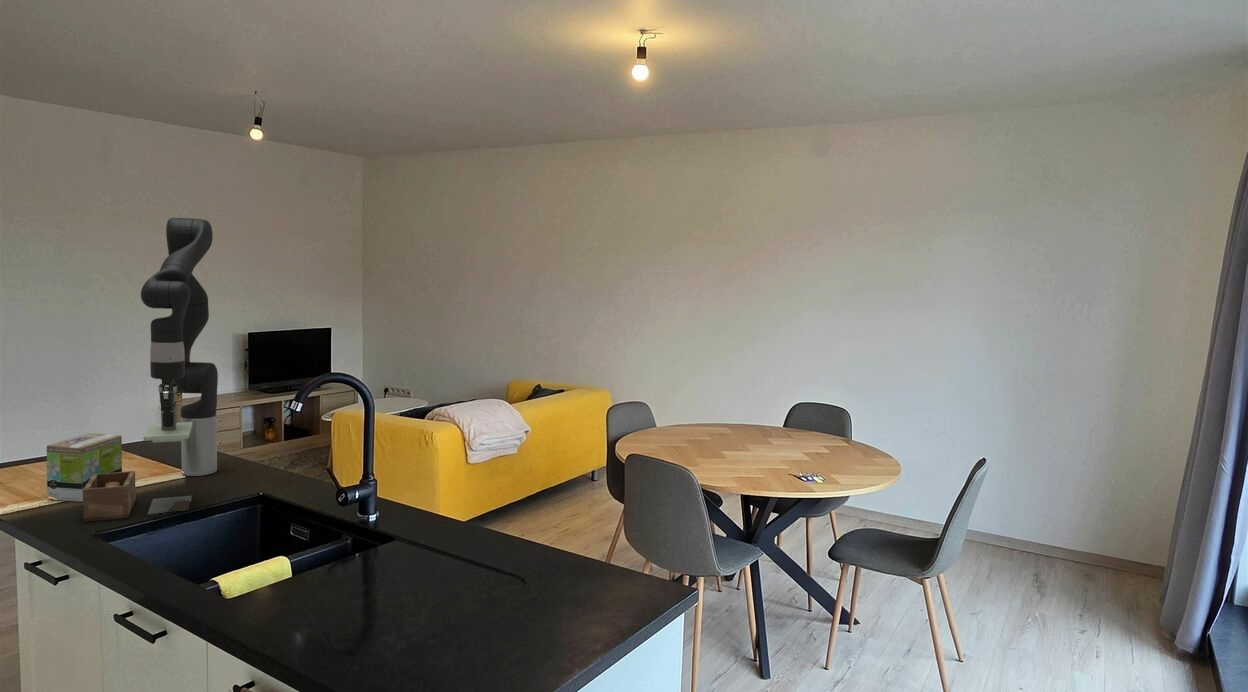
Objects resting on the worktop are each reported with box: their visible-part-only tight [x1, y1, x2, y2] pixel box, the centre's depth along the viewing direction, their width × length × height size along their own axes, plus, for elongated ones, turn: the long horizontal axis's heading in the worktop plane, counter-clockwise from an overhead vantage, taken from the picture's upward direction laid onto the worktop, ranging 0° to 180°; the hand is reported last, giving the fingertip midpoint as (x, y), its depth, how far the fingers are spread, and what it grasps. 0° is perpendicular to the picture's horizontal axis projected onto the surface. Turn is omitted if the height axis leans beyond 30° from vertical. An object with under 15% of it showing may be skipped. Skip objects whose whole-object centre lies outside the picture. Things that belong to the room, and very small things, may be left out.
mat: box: [147, 495, 193, 516], centre depth 195 cm, size 12×9×1 cm
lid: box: [143, 404, 193, 444], centre depth 192 cm, size 15×10×8 cm, turn 27°
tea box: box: [46, 432, 123, 503], centre depth 201 cm, size 15×10×15 cm, turn 179°
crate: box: [82, 470, 137, 523], centre depth 189 cm, size 14×9×8 cm, turn 27°
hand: (168, 424), depth 192 cm, fingers closed on lid, 3 cm apart
